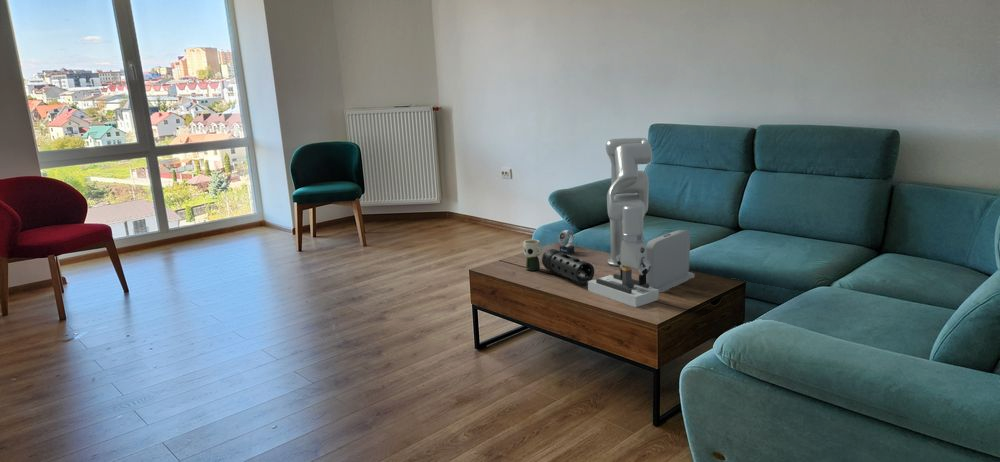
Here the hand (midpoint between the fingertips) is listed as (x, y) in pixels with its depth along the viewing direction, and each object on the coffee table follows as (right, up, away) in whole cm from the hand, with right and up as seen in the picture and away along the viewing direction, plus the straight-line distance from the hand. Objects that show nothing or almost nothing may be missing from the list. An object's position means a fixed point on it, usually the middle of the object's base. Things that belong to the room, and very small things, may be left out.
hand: (633, 281), depth 250 cm
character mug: (-35, +2, +47) cm, 59 cm away
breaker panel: (-3, -6, +6) cm, 9 cm away
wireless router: (+18, -2, +19) cm, 27 cm away
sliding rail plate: (-3, -2, +5) cm, 7 cm away
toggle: (-2, -2, +3) cm, 4 cm away
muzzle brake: (-22, -1, +32) cm, 39 cm away
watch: (-18, +8, +71) cm, 74 cm away
